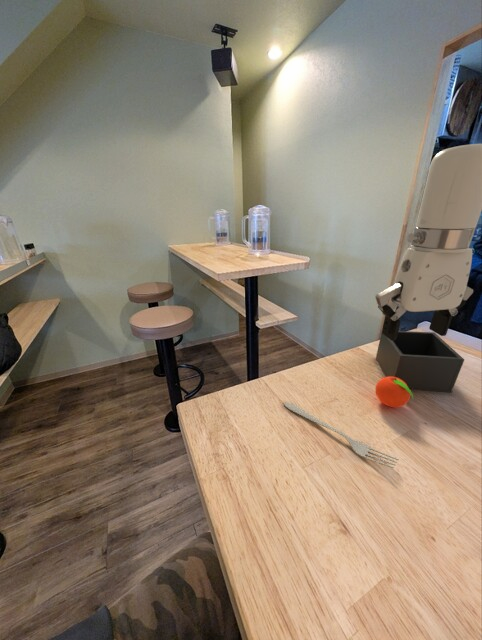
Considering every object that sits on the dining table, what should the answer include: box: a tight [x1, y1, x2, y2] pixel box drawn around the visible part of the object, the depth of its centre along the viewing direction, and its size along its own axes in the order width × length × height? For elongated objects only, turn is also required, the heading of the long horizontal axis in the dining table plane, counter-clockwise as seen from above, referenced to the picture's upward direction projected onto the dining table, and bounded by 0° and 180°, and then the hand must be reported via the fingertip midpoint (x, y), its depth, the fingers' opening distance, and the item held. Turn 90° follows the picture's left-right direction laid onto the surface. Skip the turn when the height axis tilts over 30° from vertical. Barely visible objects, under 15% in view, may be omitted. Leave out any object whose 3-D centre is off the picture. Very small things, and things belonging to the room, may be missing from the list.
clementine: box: [375, 376, 414, 409], centre depth 58 cm, size 8×7×7 cm
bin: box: [375, 330, 465, 393], centre depth 67 cm, size 14×14×10 cm
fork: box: [283, 401, 399, 469], centre depth 53 cm, size 3×24×2 cm, turn 44°
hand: (412, 334), depth 47 cm, fingers open, 9 cm apart
